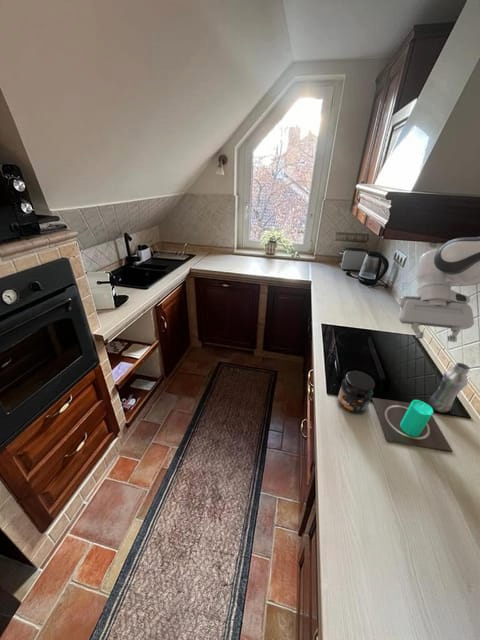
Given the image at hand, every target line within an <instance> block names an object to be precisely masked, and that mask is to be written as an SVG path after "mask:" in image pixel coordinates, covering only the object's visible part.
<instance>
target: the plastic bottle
mask: <svg viewBox="0 0 480 640" xmlns="http://www.w3.org/2000/svg"><path fill="white" fill-rule="evenodd" d="M470 370H471V369H470V366H469V365H467V364H465V363H463V362H456V364H455V365H454V366H453V368H452V369H449V370H447V371H445V372H444V373H443V375H442V378H441V381H440V384H439V386H438V387H437V389H436V391H434V393H433V394H432V395H431V396H430V398H429V401H428V405H430V406H431V408H432V409H433V411H435V412H437V413H441V414H445V413H448V412H450V410H452V407H453V404H454V402H455V399H456V397H458V395H459V393H460V392H461V391H462V390H463V389H464V388H465V387H466V386H467V385H468V381H469V380H468V377H467V375H468V373H469V371H470Z"/></svg>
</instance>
